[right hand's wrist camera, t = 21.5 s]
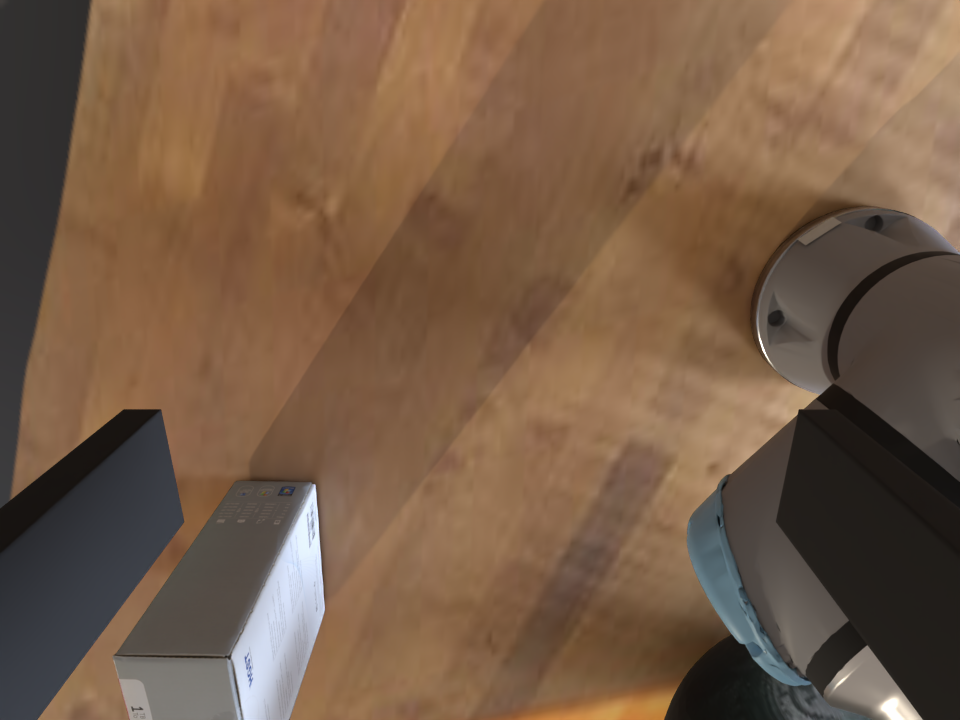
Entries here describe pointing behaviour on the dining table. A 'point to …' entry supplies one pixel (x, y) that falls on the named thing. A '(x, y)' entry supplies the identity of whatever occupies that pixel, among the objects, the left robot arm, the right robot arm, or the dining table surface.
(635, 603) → the dining table surface
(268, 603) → the hard drive box
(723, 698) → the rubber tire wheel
